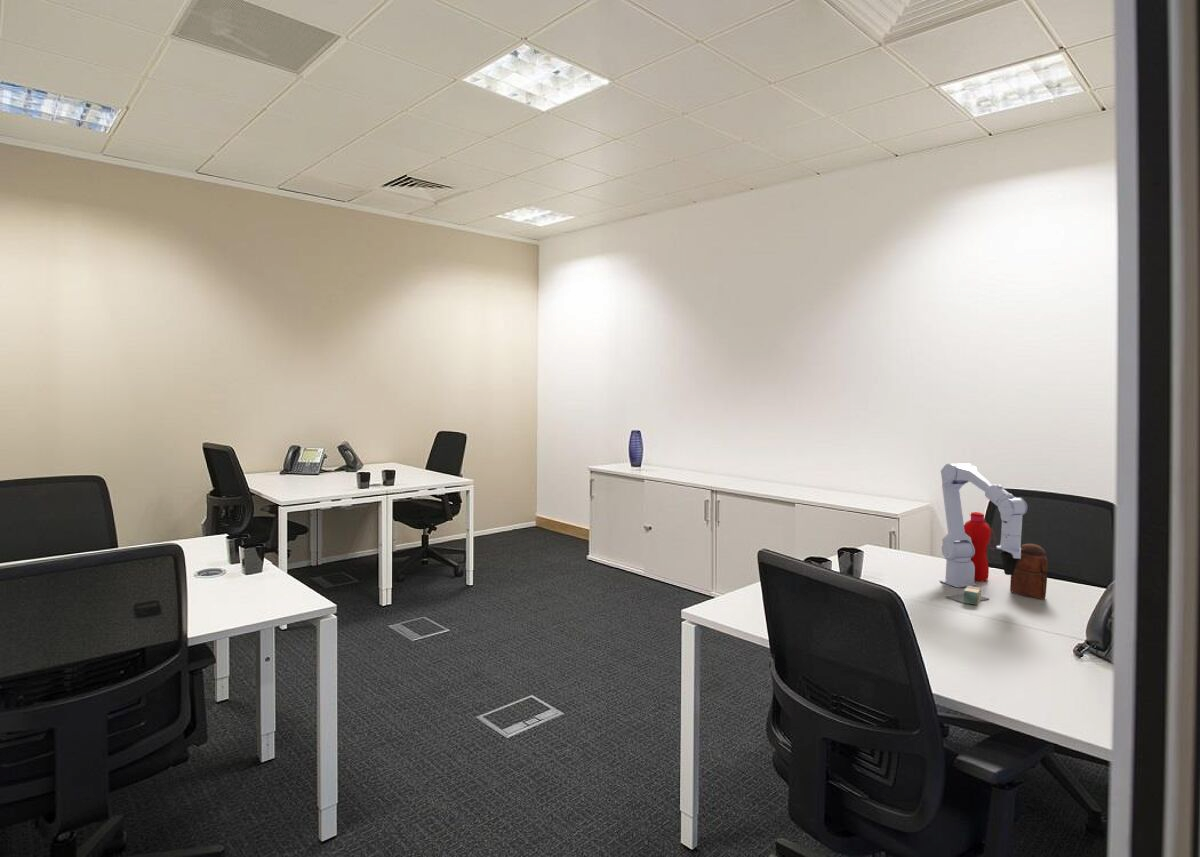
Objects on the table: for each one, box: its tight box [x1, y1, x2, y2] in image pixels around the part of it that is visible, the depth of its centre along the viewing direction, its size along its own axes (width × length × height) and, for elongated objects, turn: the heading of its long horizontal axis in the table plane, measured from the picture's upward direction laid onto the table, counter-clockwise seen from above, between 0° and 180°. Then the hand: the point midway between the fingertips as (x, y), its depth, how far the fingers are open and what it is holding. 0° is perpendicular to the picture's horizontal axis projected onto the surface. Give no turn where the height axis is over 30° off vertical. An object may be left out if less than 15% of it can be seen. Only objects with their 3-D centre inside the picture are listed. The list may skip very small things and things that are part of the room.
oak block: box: [963, 585, 982, 606], centre depth 226 cm, size 4×4×7 cm
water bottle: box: [964, 511, 997, 582], centre depth 253 cm, size 9×11×25 cm
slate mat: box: [945, 593, 990, 605], centre depth 230 cm, size 12×7×1 cm, turn 113°
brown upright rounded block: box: [1009, 543, 1049, 600], centre depth 235 cm, size 12×6×18 cm, turn 39°
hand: (1008, 574), depth 225 cm, fingers closed
